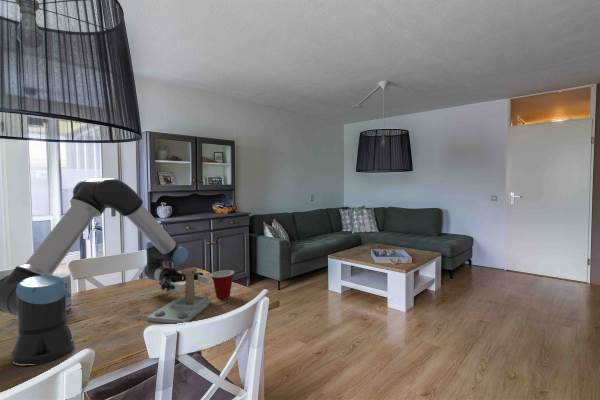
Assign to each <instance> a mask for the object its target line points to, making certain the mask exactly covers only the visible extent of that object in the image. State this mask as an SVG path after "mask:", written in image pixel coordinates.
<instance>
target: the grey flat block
mask: <svg viewBox="0 0 600 400" xmlns="http://www.w3.org/2000/svg"><path fill="white" fill-rule="evenodd" d="M212 300H213V299H209V296H204V295H194V303H193V304H186V298H185V295H184V296H178V297H177V298H175V299H173V300H171V302H168V303H167V304H165V305H164V306H162V307H161V308H159V309H157V310H155V311H154V312H152V313H151V314H150V315H148V316H146V321H147V322H155V323H157V322H158V323H166V324H174V323H183V322H187V323H188V322H190V321H191V320H192V319H193V318H194V317H196V316H197V315H198V314H200V313H201V312H202V311H203V310H204V309H206V308H207V307H209V306H210V305H211V304H212V303H213V302H212ZM210 303H211V304H210ZM209 304H210V305H209Z"/></svg>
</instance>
